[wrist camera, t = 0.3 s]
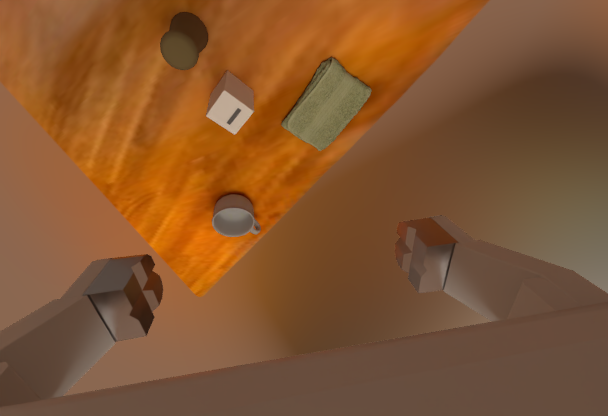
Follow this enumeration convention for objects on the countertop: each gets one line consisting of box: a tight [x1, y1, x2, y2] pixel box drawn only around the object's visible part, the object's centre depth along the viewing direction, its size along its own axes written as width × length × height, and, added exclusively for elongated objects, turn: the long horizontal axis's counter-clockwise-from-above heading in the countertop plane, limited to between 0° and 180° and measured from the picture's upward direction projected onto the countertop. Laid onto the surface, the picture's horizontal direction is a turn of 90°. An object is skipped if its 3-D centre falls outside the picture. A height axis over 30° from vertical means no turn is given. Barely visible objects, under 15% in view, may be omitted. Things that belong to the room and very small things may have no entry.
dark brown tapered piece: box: [160, 12, 208, 70], centre depth 43 cm, size 6×6×11 cm
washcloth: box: [281, 57, 371, 151], centre depth 59 cm, size 13×18×3 cm
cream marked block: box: [206, 70, 254, 135], centre depth 52 cm, size 6×6×9 cm
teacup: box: [212, 194, 261, 237], centre depth 75 cm, size 14×11×8 cm
